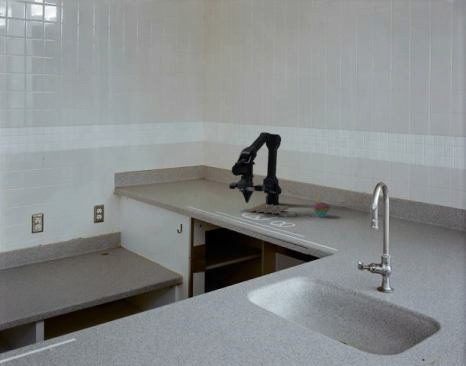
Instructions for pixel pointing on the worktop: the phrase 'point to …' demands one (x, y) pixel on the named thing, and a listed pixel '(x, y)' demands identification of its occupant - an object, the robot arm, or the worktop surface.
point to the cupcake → (321, 208)
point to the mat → (260, 212)
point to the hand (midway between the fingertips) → (247, 202)
